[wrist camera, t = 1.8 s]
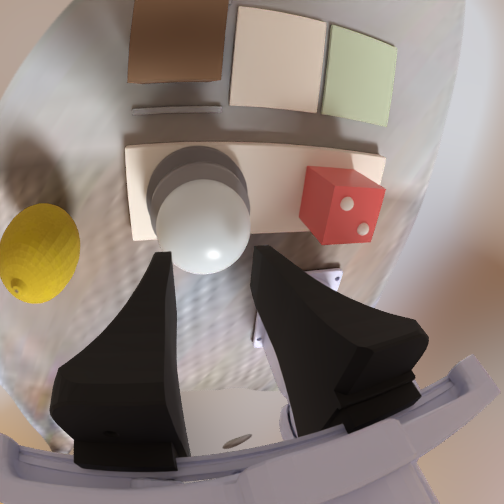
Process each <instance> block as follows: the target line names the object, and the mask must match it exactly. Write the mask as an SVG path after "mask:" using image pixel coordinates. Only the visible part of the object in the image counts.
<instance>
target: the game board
mask: <svg viewBox="0 0 504 504" xmlns="http://www.w3.org/2000/svg"><path fill="white" fill-rule="evenodd" d="M231 3H232V0H229V3H228V5H231ZM325 34H326V23H325V22H322V21H318V20H314V19H310V18H306V17H302V16H297V15H293V14H288V13H283V12H277V11H271V10H265V9H259V8H251V7H243V6H239V7H238V13H237V23H236V32H235V42H234V53H233V64H232V75H231V87H230V100H229V105H233V106H252V107H265V108H276V109H286V110H295V111H303V112H310V113H317V105H318V97H319V89H320V81H321V72H322V63H323V54H324V44H325ZM396 57H397V48H395V47H393V46H391V45H388V44H386V43H384V42H381V41H379V40H376V39H374V38H371V37H368V36H366V35H363V34H360V33H357V32H354V31H351V30H348V29H345V28H342V27H339V26H336V25H331V29H330V39H329V49H328V59H327V68H326V76H325V85H324V93H323V101H322V108H321V114H324V115H330V116H336V117H342V118H347V119H352V120H357V121H362V122H367V123H371V124H376V125H380V126H384V127H387V122H388V117H389V111H390V104H391V98H392V91H393V83H394V75H395V67H396ZM191 112H213V113H222V106H173V107H152V108H138V109H132V115H144V114H160V113H191ZM125 160H126V176H127V189H128V200H129V209H130V218H131V227H132V234H133V241H138V240H153V239H157V236H156V235H155V233H154V231H153V228H152V225H151V220H150V209H151V202H152V197H153V194H154V191H155V189H156V187H157V185H158V184H159V182H160V181H161V179H162V178H163V177H164V176H165V175H166V174H167V173H168V172H170V171H171V170H173V169H174V168H176V167H178V166H180V165H182V164H185V163H189V162H194V161H208V162H213V163H216V164H219V165H222V166H224V167H226V168H227V169H229V170H230V171H231V172H232V173H234V174H235V176H236V177H237V178H238V179H239V181H240V182H241V184H242V185H243V187H244V188H245V190H246V192H247V194H248V197H249V201H250V223H251V231H250V234H260V233H282V232H305V231H310V230H309V229H308V228H307V227H306V225H305V224H304V223H303V222H302V221H301V220H300V218H299V211H300V206H301V200H302V194H303V187H304V181H305V175H306V169H307V166H318V167H332V168H344V169H354V170H356V171H357V172H359V173H361V174H362V175H364V176H366V177H367V178H369V179H370V180H372V181H374V182H375V183H377V184H378V185H380V183H381V179H382V175H383V170H384V166H385V162H386V158H385V157H383V156H381V155H378V154H371V153H365V152H358V151H350V150H342V149H334V148H325V147H315V146H304V145H292V144H277V143H256V142H174V143H154V144H140V145H128V146H127V147H126V148H125Z"/></svg>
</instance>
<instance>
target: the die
mask: <svg viewBox="0 0 504 504" xmlns="http://www.w3.org/2000/svg"><path fill="white" fill-rule="evenodd" d="M385 190H386V189H385V188H383V187H382V186H380V185H378V184H377V183H375V182H374V181H372V180H370V179H369V178H367V177H366V176H364V175H362V174H361V173H359V172H357V171H356V170H354V169H344V168H332V167H318V166H307V169H306V175H305V181H304V187H303V194H302V200H301V206H300V211H299V218H300V220H301V221H302V222H303V223H304V224H305V225H306V227H307V228H308V229H309V230H310V231H311V232H312V234H313V235H314V236H315V237H316V238H317V240H318V241H319V242H320V243H321V244H322V245H331V244H348V243H364V242H371V239H372V236H373V233H374V230H375V226H376V223H377V219H378V216H379V212H380V209H381V205H382V202H383V198H384V194H385Z"/></svg>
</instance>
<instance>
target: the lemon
mask: <svg viewBox="0 0 504 504" xmlns="http://www.w3.org/2000/svg"><path fill="white" fill-rule="evenodd" d="M79 254H80V239H79V233H78V230H77V227H76V225H75V222H74V221H73V219H72V218H71V217H70V215H69V214H68V213H67V212H66V211H65V210H63V209H62V208H60V207H58V206H56V205H52V204H49V203H40V204H36V205H32V206H29V207H27V208H26V209H24V210H23V211H21V212H20V213H19V214H18V215H16V216H15V217H14V218H13V220H12V221H11V222H10V224H9V225H8V227H7V228H6V230H5V232H4V234H3V236H2V239H1V242H0V277H1V279H2V282H3V284H4V285H5V287H6V288H7V289H8V291H9V292H10V293H11V294H12V295H13V296H15V297H16V298H17V299H19V300H21V301H24V302H27V303H43V302H46V301H49V300H51V299H52V298H54V297H55V296H56V295H58V294H59V293H60V292H61V291H62V290H63V289H64V287H65V286H66V285H67V283H68V282H69V281H70V279H71V278H72V276H73V274H74V272H75V269H76V266H77V263H78V260H79Z"/></svg>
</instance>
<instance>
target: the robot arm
mask: <svg viewBox="0 0 504 504" xmlns="http://www.w3.org/2000/svg"><path fill="white" fill-rule="evenodd" d="M342 275H343V271H342V270H341V269H340V268H334V269H324V270H315V271H303V270H302V269H300V268H299V267H297V266H296V265H295V264H293V263H292V262H291V261H289V260H288V259H287V258H286V257H284V256H283V255H282V254H280V253H279V252H278V251H276V250H275V249H274V248H272V247H271V246H269V245H265V246H254V254H253V264H252V274H251V283H250V287H251V291H252V295H253V299H254V302H255V306H256V309H257V317H256V324H255V332H254V339H253V346H254V347H255V348H260V347H263V348H264V351H265V353H266V356H267V359H268V362H269V364H270V367H271V370H272V372H273V375H274V378H275V381H276V383H277V386H278V388H279V390H280V392H281V393H282V394H283V396H284V397H286V399H287V401H288V404H287V405H285V406H284V407H283V408H282V410H281V415H280V420H279V425H280V431H281V435H282V438H283V440H284V441H282V442H278V443H274V444H269V445H265V446H260V447H255V448H250V449H244V450H239V451H232V452H226V453H219V454H211V455H202V456H193V457H191V453H190V449H189V444H188V438H187V433H186V427H185V422H184V416H183V410H182V403H181V396H180V389H179V381H178V373H177V360H176V339H177V310H176V297H175V286H174V276H173V265H172V252H171V251H168V252H156V253H155V254H154V255H153V258H152V260H151V262H150V264H149V266H148V268H147V270H146V272H145V274H144V276H143V278H142V279H141V281H140V283H139V285H138V286H137V288H136V289H135V291H134V292H133V294H132V296H131V297H130V299H129V300H128V302H127V303H126V304H125V306H124V307H123V308H122V310H121V311H120V312H119V314H118V315H117V316H116V317H115V318H114V320H113V321H112V322H111V323H110V324H109V325H108V326H107V328H106V329H105V330H104V331H103V332H102V333H101V334H100V335H99V336H98V337H97V338H96V339H95V340H94V341H92V342H91V343H90V344H89V345H88V346H87V347H86V348H85V349H83V350H82V351H81V352H80V353H79V354H77V355H76V356H75V357H73V358H72V359H71V360H69V361H68V362H67V363H65V364H64V365H62V366H61V367H60V368H58V372H57V375H56V378H55V381H54V385H53V390H52V397H51V404H50V415H51V417H52V418H53V420H54V421H55V422H56V423H57V424H58V425H59V426H60V427H61V428H62V429H63V430H64V431H65V432H66V433H67V434H68V435H69V436H70V437H72V438H73V439H74V455H70V454H63V453H56V452H50V451H44V450H39V449H34V448H29V447H25V446H21V445H18V443H17V442H15V441H14V440H13V439H12V438H10V437H8V436H7V435H4V434H2V433H0V502H1V503H4V504H440V503H439V502H438V500H437V498H436V496H435V494H434V492H433V491H432V489H431V487H430V485H429V483H428V482H427V480H426V478H425V476H424V475H423V473H422V471H421V469H420V467H419V466H418V464H417V461H418V459H419V458H420V457H421V456H423V455H424V454H426V453H427V452H429V451H430V450H432V449H433V448H435V447H436V446H438V445H439V444H440V443H442V442H443V441H445V440H446V439H447V438H449V437H450V436H451V435H453V434H454V433H455V432H457V431H458V430H459V429H461V428H462V427H463V426H464V425H466V424H467V423H468V422H469V421H470V420H471V419H473V418H474V417H475V416H476V415H477V414H479V413H480V412H481V411H482V410H483V409H484V408H485V407H486V406H487V405H489V404H490V403H491V402H492V401H493V400H494V399H495V398H496V397H497V396H498V395H499V394H500V389H499V388H498V387H497V385H496V384H495V382H494V381H493V380H492V378H491V377H490V376H489V374H488V373H487V371H486V370H485V369H484V367H483V366H482V365H481V363H480V362H479V361H478V359H477V358H476V357H475V356H474V354H471V355H469V356H468V357H466V358H464V359H463V360H461V361H460V362H458V363H457V364H456V365H455V366H454V367H453V369H451V371H450V372H449V373H448V375H447V376H445V377H443V378H442V379H440V380H438V381H436V382H434V383H433V384H431V385H429V386H427V387H425V388H424V389H420V387H419V386H418V384H417V382H416V380H415V375H414V373H413V372H412V368H413V367H414V366H415V364H416V363H417V362H418V360H419V359H420V358H421V356H422V355H423V353H424V352H425V350H426V348H427V346H428V342H429V337H428V335H427V334H426V333H425V332H424V330H423V329H422V328H421V326H420V325H419V324H418V323H417V321H416V320H414V319H410V318H405V317H401V316H397V315H393V314H390V313H387V312H384V311H381V310H378V309H375V308H372V307H369V306H367V305H364V304H362V303H360V302H357V301H355V300H353V299H350V298H348V297H346V296H344V295H342V294H340V293H339V292H337V290H338V287H339V284H340V281H341V278H342ZM336 277H337V278H336ZM214 478H216V479H214ZM205 479H210V480H205ZM196 480H205V481H199V482H192V483H185V484H184V483H183V481H196Z"/></svg>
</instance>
